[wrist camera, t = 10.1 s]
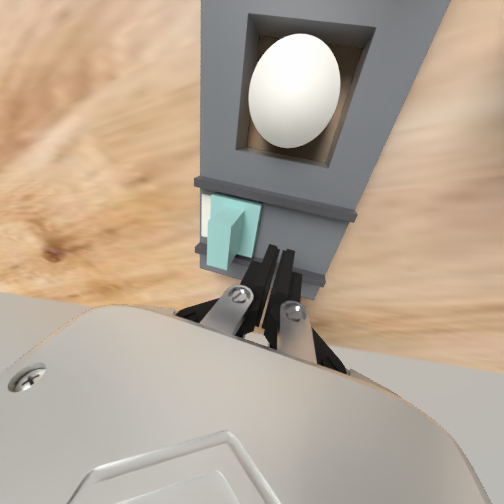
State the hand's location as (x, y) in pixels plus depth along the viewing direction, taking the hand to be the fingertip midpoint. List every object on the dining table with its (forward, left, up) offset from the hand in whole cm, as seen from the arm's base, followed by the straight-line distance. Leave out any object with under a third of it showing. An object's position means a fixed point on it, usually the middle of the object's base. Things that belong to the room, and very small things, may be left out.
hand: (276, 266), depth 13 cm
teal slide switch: (+4, 0, -5) cm, 6 cm away
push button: (+2, -9, -8) cm, 12 cm away
